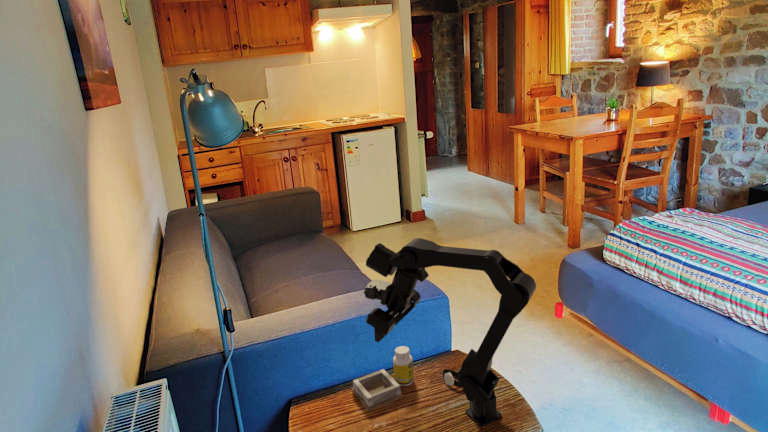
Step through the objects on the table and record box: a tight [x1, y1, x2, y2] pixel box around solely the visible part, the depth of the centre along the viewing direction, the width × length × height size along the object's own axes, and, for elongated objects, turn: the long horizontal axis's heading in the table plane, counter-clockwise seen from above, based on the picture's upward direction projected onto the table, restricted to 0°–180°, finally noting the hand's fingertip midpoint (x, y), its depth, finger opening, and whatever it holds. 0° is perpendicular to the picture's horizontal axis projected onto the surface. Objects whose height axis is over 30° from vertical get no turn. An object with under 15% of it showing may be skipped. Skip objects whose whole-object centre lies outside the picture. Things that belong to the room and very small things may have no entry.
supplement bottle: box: [392, 345, 415, 387], centre depth 135 cm, size 5×5×10 cm
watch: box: [442, 368, 462, 388], centre depth 134 cm, size 8×5×4 cm, turn 33°
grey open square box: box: [351, 368, 404, 412], centre depth 131 cm, size 10×10×4 cm
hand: (385, 332), depth 128 cm, fingers open, 9 cm apart
